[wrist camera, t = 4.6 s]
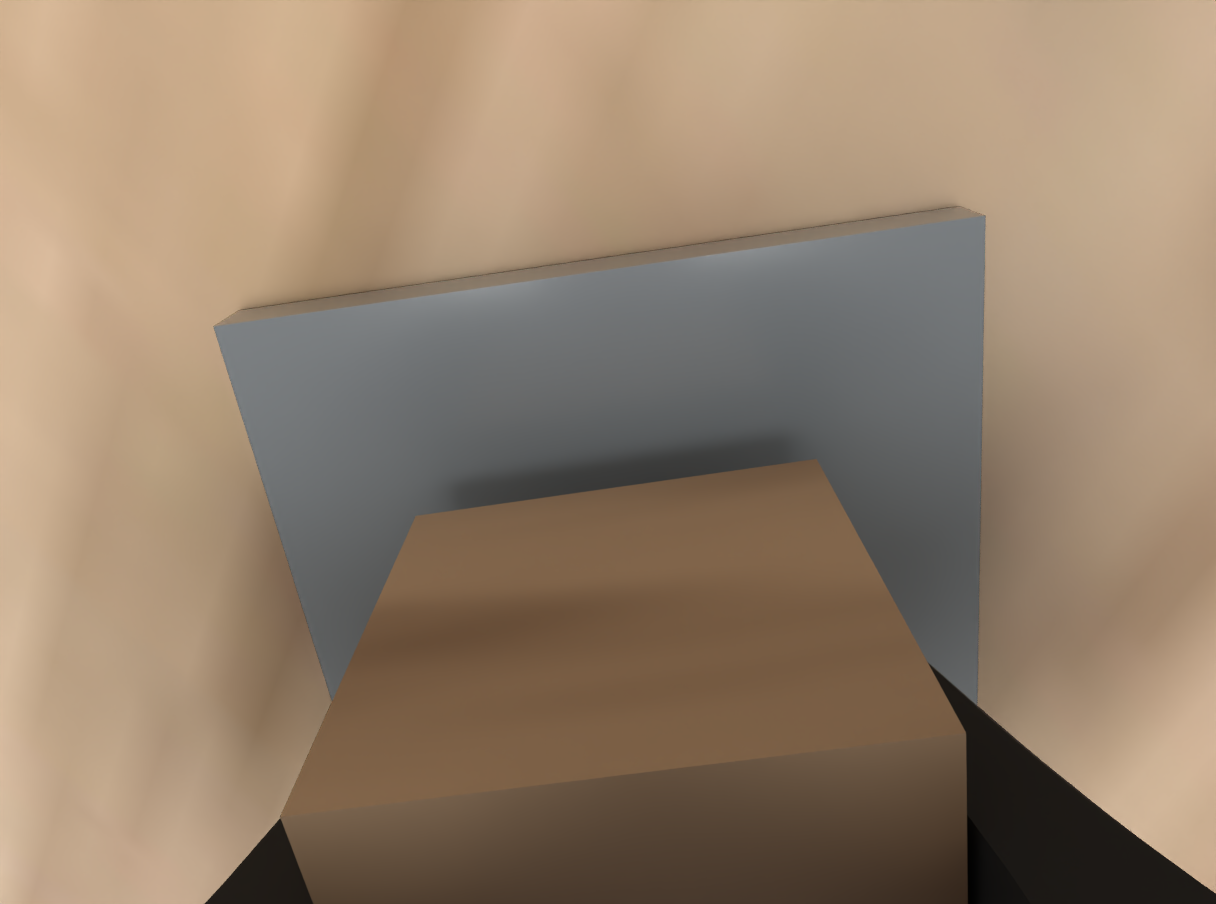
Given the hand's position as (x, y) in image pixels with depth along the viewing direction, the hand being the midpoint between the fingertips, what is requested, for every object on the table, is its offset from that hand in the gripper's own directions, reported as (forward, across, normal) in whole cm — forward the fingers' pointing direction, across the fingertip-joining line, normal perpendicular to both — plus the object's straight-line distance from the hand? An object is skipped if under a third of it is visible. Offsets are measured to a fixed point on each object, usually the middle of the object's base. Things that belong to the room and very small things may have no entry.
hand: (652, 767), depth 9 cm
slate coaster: (+4, 0, 0) cm, 4 cm away
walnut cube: (+2, 0, 0) cm, 2 cm away
